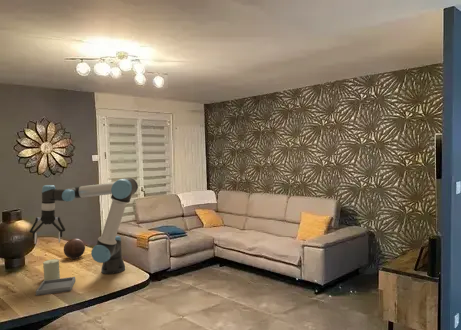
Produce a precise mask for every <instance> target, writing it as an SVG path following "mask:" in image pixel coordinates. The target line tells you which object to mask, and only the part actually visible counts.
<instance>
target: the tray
mask: <svg viewBox="0 0 461 330" xmlns="http://www.w3.org/2000/svg"><path fill="white" fill-rule="evenodd" d="M75 282H76V276H72V277H71V276H70V277H69V276H68V277H63V278H61V277H60V279H53V280H44V279H43V281H42V282H41V283H40V284H39V286H38V287H37V289H36V290H35V296H37V297H38V296H43V295H51V294H52V295H53V294H57V293H67V292H71V291H72V289H73V287H74V285H75Z"/></svg>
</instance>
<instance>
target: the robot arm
mask: <svg viewBox="0 0 461 330" xmlns="http://www.w3.org/2000/svg"><path fill="white" fill-rule="evenodd" d="M138 186H139V185H138V182H137V181H136V180H135V179H134V178H132V177H124V178H119V179H117V180H115V181H114V182H107V183H100V184H99V183H98V184H91V185H81V186H72V187H68V188H56V186H55V185H54V184H45V185H43V186H42V187H41V215H40V216H41V217H38V216H36V217H35V221H34V223H33V225H32V226H31V228H30V230H29V232H28V233H30V234H32V239H34V245H36V244H37V235H38V234H37V231H38V230H39V229H40V228H41V227H42V226H43V225H53V226H54V227H55V228H56V230H58V243H59V244H60V243H61V238H62V237H63V232H65V231H66V228H65V226H64V224H63V223H62V220H61V217H60V216H56V215H55V214H56V212H55V211H56V210H55V209H56V202H73V200H75V199H82V198H89V197H97V196H98V197H99V196H106V195H107V196H108V195H110V199H111V200H112V201H111V205H110V208H109V210H108V214H107V217H106V220H105V223H104V227H103V230H102V233H101V236H99V237H98V238H97V241H96V243H95V245H94V246H93V247H92V249H91V252H90V253H91V254H90V255H91V257H92V259H93V260H94V261H95V262H96V263H99V264H102V265H101V273H102V274H104V275H112V274H113V275H114V274H119V273H121V272H124V271H125V269H126V265H125V263H124V259H123V253H122V237H121V236H120V235H118V233H119V232H118V231H119V228H120V225H121V222H122V220H123V216H124V212H125V210H126V206H127V204H129V203H130V202H131V200H132V199H131V198H132V196H133V195H136V193H137V191H138V189H139V187H138ZM55 220H56V221H57V222H58V224H59V225H58V224H57V223H56V222H55ZM39 221H41V223H40V224H39V225H38V226H37V227H36V225H37V224H38V222H39ZM35 227H36V228H35ZM34 228H35V229H34Z"/></svg>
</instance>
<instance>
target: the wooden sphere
mask: <svg viewBox="0 0 461 330" xmlns="http://www.w3.org/2000/svg"><path fill="white" fill-rule="evenodd" d="M85 251H86V246H85V243H84V242H83V241H82V239H79V238H72V239H69V240H68V241H66V242H65V244H64V246H63V253H64V256H65V257H67V258H68V259H70V260H76V259H79V258H81V257H82V256H83V254H85Z"/></svg>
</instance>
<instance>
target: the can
mask: <svg viewBox="0 0 461 330" xmlns="http://www.w3.org/2000/svg"><path fill="white" fill-rule="evenodd" d="M42 264H43V281H44V280H53V279H61V274H60V259H55V258H54V259H47V260H45V261H43V262H42Z"/></svg>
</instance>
